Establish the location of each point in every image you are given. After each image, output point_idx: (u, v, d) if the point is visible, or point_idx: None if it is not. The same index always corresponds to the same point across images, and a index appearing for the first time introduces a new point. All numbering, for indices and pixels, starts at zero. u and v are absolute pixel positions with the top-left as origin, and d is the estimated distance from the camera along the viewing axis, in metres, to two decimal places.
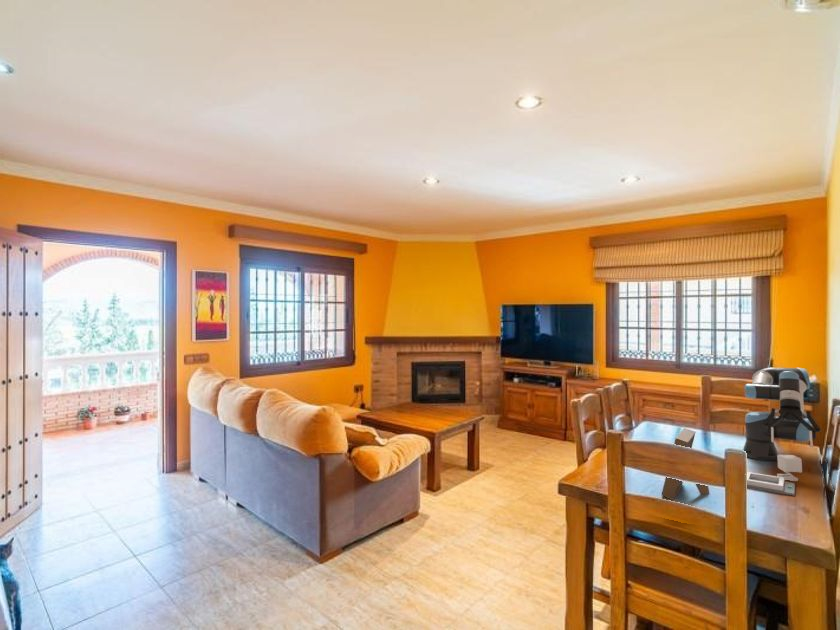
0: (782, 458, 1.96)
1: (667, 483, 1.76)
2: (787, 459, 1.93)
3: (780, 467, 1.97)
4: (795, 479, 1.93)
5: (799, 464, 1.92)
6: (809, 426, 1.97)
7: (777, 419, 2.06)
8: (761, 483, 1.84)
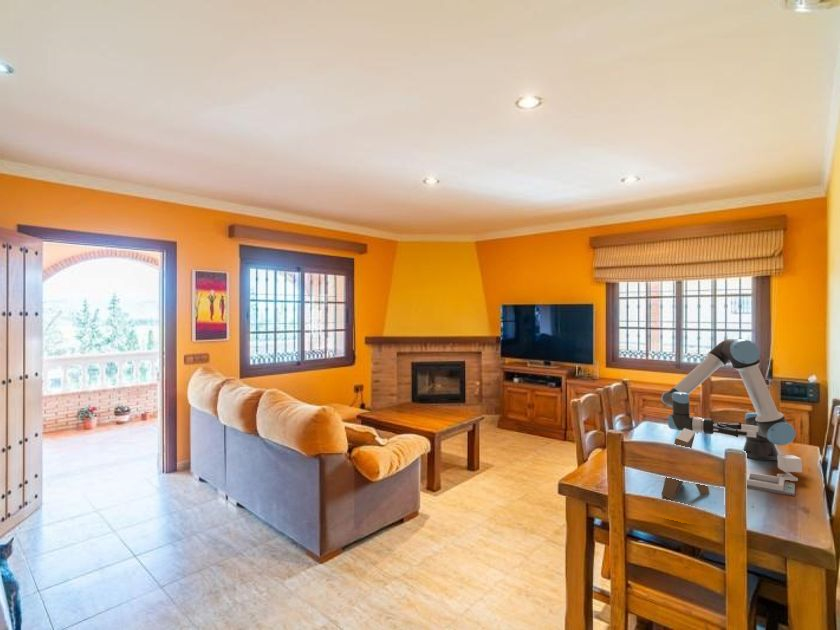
0: (782, 458, 1.96)
1: (667, 483, 1.76)
2: (787, 459, 1.93)
3: (780, 467, 1.97)
4: (795, 479, 1.93)
5: (799, 464, 1.92)
6: None
7: None
8: (761, 483, 1.84)
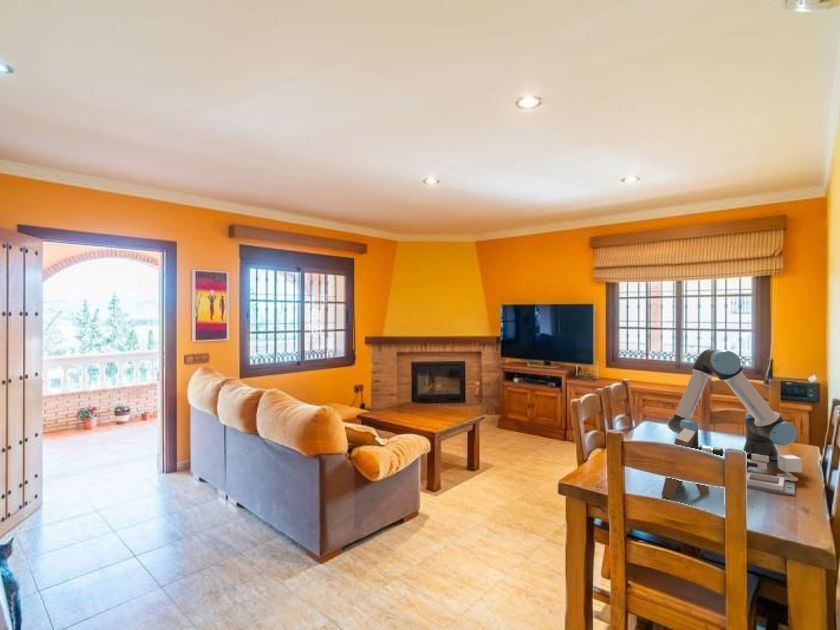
0: (782, 458, 1.96)
1: (667, 483, 1.76)
2: (787, 459, 1.93)
3: (780, 467, 1.97)
4: (795, 479, 1.93)
5: (799, 464, 1.92)
6: None
7: None
8: (761, 483, 1.84)
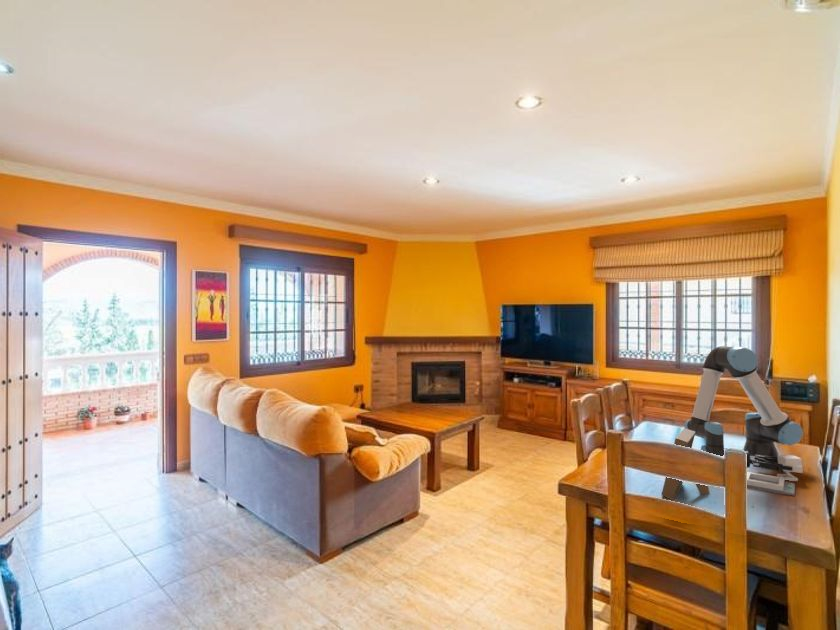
0: (782, 458, 1.96)
1: (667, 483, 1.76)
2: (787, 459, 1.93)
3: None
4: (795, 479, 1.93)
5: (799, 464, 1.92)
6: None
7: None
8: (761, 483, 1.84)
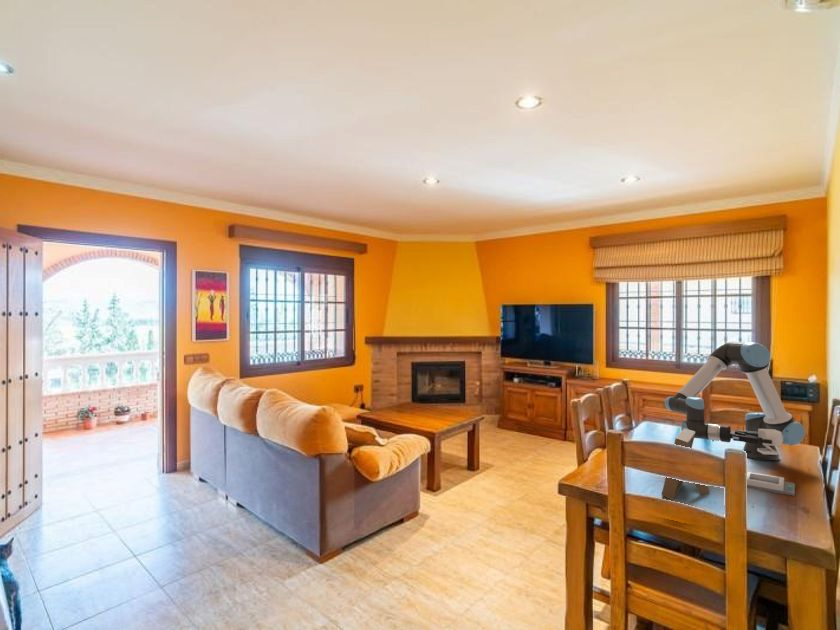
0: (762, 432, 1.92)
1: (667, 483, 1.76)
2: (767, 432, 1.90)
3: None
4: (775, 453, 1.89)
5: (779, 438, 1.88)
6: None
7: None
8: (761, 483, 1.84)
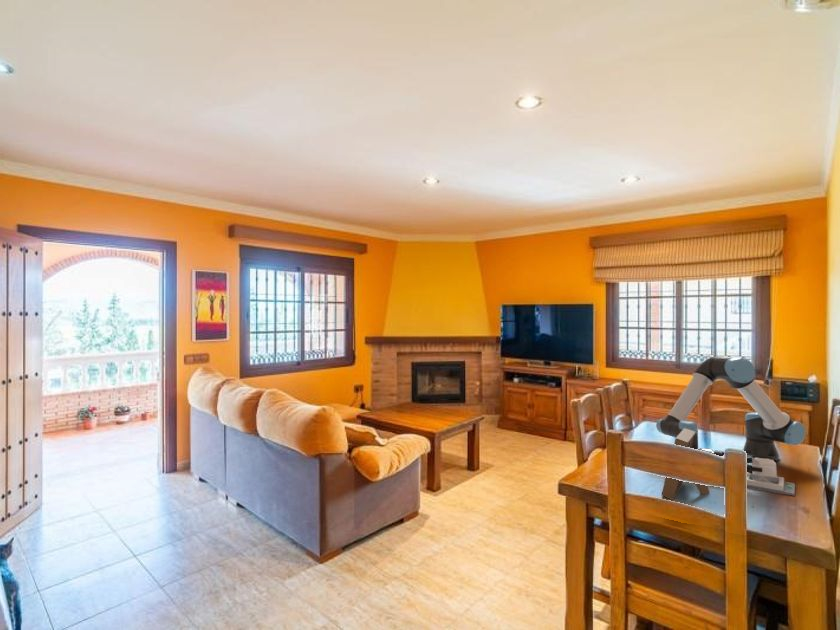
0: (756, 462, 1.88)
1: (667, 483, 1.76)
2: (761, 463, 1.86)
3: None
4: None
5: (773, 468, 1.85)
6: None
7: None
8: (761, 483, 1.84)
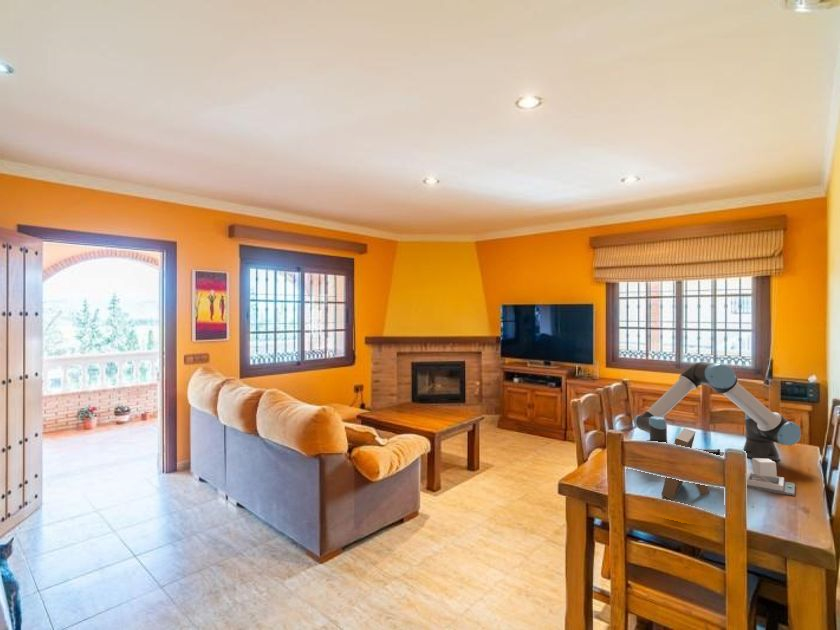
0: (756, 462, 1.88)
1: (667, 483, 1.76)
2: (761, 463, 1.86)
3: (754, 471, 1.90)
4: None
5: (773, 468, 1.85)
6: None
7: None
8: (761, 483, 1.84)
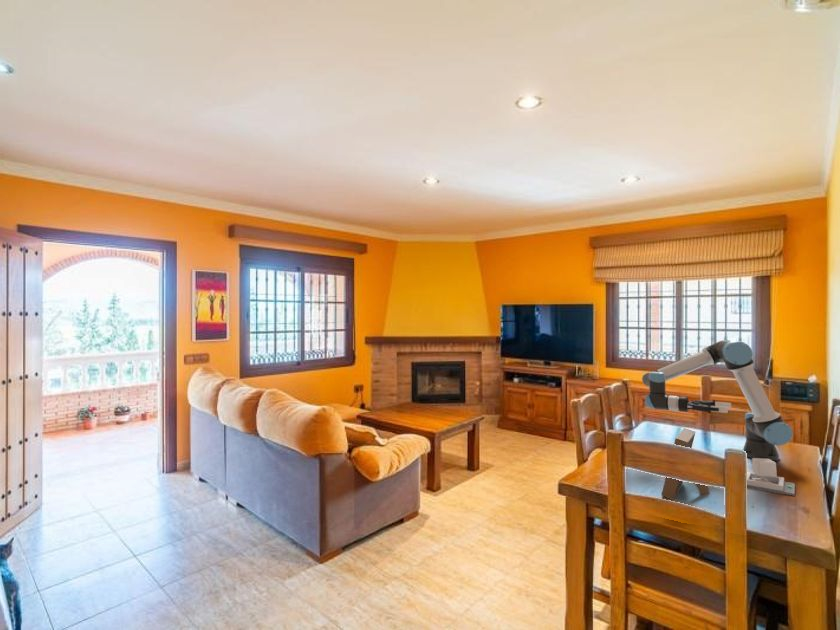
0: (756, 462, 1.88)
1: (667, 483, 1.76)
2: (761, 463, 1.86)
3: (754, 471, 1.90)
4: None
5: (773, 468, 1.85)
6: None
7: None
8: (761, 483, 1.84)
